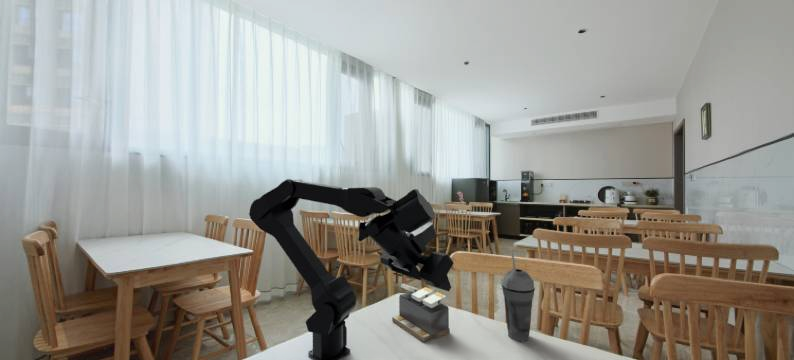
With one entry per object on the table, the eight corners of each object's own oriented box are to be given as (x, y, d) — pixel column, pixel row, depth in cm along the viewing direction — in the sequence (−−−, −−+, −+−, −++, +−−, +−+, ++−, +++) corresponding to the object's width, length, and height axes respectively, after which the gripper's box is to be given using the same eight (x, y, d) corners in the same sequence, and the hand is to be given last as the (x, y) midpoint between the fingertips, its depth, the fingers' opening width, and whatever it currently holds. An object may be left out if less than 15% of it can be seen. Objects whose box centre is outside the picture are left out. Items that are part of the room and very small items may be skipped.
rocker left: (408, 290, 78) (410, 286, 78) (400, 286, 81) (402, 282, 81) (421, 295, 80) (423, 291, 81) (413, 291, 83) (415, 287, 83)
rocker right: (431, 308, 70) (431, 304, 70) (422, 303, 73) (422, 299, 73) (446, 300, 73) (446, 296, 73) (437, 295, 76) (436, 291, 76)
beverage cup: (539, 346, 67) (538, 255, 67) (504, 342, 68) (503, 253, 69) (531, 330, 74) (530, 248, 74) (500, 327, 76) (499, 247, 76)
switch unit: (423, 342, 69) (423, 314, 69) (392, 321, 79) (392, 296, 79) (449, 332, 73) (449, 306, 73) (416, 313, 84) (416, 290, 84)
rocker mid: (419, 302, 74) (419, 297, 74) (411, 297, 77) (410, 293, 77) (434, 294, 77) (433, 290, 77) (425, 290, 80) (425, 286, 80)
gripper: (445, 212, 57) (484, 262, 63) (390, 207, 73) (426, 247, 79) (413, 261, 53) (459, 309, 59) (361, 245, 68) (402, 284, 74)
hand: (434, 283), depth 68 cm, fingers open, 9 cm apart
